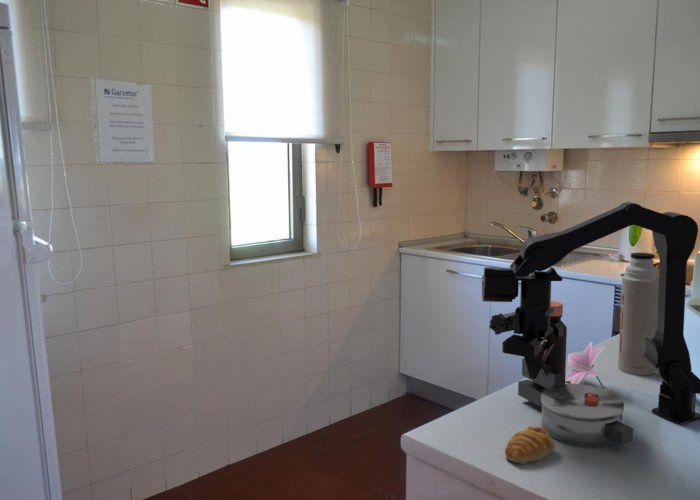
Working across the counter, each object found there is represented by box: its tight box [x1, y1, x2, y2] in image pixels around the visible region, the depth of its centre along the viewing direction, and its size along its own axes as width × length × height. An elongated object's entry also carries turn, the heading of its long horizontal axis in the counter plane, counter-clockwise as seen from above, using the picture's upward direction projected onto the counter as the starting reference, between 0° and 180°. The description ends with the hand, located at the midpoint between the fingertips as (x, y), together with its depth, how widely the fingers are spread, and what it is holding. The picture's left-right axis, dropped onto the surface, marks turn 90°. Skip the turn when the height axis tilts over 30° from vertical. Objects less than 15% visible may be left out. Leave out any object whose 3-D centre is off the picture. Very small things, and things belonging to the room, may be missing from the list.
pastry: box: [504, 426, 556, 465], centre depth 103 cm, size 9×7×4 cm
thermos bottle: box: [617, 252, 659, 376], centre depth 138 cm, size 8×8×28 cm
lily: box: [565, 341, 605, 386], centre depth 131 cm, size 12×12×10 cm
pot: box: [517, 378, 635, 449], centre depth 113 cm, size 14×26×5 cm, turn 24°
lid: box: [521, 358, 625, 421], centre depth 114 cm, size 14×23×4 cm, turn 21°
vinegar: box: [533, 300, 568, 384], centre depth 127 cm, size 7×7×20 cm
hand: (533, 378), depth 118 cm, fingers closed
